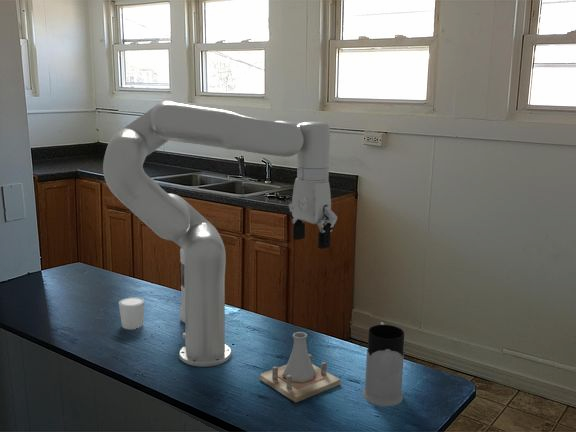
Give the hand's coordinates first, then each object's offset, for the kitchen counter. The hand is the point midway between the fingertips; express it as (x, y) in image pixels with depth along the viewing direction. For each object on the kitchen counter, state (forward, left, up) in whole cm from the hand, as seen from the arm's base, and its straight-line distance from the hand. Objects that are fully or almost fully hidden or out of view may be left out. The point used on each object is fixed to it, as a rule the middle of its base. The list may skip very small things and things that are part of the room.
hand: (311, 243), depth 150 cm
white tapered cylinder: (-40, -29, -28) cm, 57 cm away
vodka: (-33, -13, -28) cm, 45 cm away
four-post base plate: (+12, -13, -28) cm, 33 cm away
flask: (+12, -13, -26) cm, 32 cm away
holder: (+26, -1, -28) cm, 38 cm away
